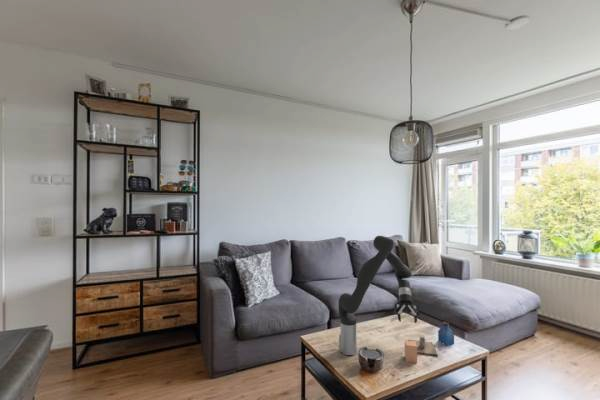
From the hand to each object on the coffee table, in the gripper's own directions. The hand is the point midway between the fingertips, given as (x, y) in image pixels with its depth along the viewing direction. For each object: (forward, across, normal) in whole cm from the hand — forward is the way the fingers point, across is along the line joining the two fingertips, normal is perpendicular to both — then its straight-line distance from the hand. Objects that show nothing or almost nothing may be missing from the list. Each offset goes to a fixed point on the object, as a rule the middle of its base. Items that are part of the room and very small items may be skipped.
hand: (407, 321), depth 166 cm
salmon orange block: (+19, 0, +4) cm, 20 cm away
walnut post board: (+9, +8, +14) cm, 18 cm away
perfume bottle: (+2, +24, +22) cm, 33 cm away
